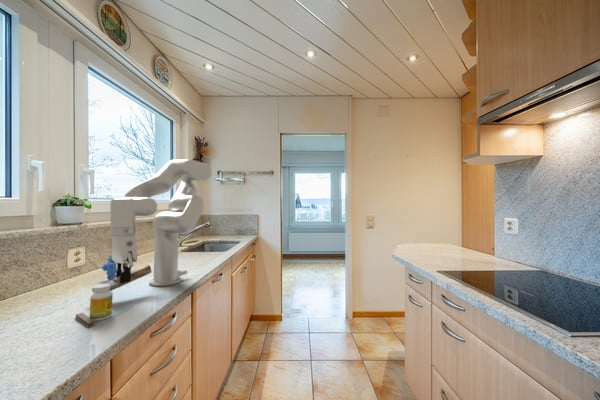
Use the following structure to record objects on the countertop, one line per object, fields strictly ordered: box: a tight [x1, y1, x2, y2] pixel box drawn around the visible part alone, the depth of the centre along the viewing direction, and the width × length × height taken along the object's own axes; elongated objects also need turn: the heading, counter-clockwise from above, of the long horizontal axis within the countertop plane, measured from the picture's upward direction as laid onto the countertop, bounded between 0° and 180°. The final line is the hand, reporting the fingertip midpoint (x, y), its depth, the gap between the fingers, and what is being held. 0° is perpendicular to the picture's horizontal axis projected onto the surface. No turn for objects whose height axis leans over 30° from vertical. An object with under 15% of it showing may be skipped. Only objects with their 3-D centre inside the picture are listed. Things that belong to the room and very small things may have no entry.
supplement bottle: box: [89, 283, 113, 322], centre depth 78 cm, size 5×5×10 cm
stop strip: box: [75, 312, 96, 328], centre depth 75 cm, size 2×10×1 cm, turn 57°
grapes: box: [100, 253, 118, 281], centre depth 117 cm, size 12×7×12 cm, turn 27°
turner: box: [91, 264, 152, 294], centre depth 94 cm, size 18×6×3 cm, turn 146°
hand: (123, 281), depth 94 cm, fingers closed on turner, 2 cm apart
